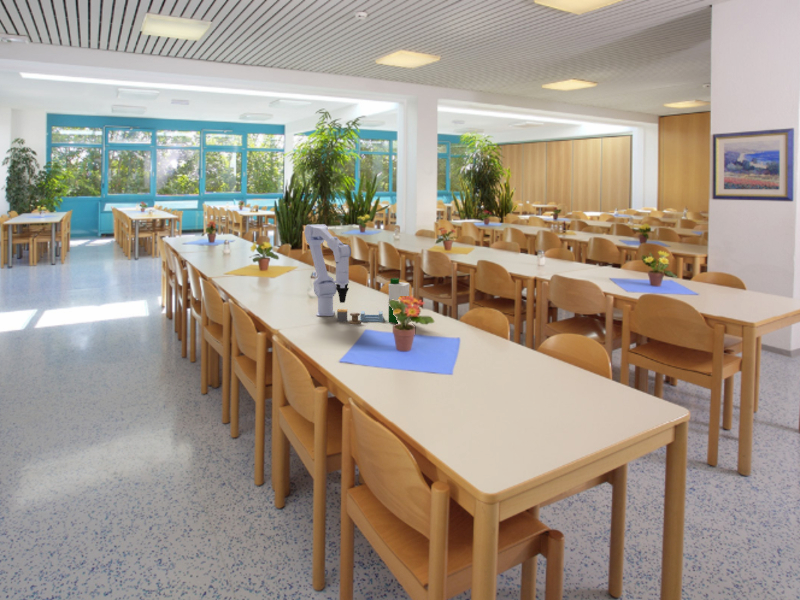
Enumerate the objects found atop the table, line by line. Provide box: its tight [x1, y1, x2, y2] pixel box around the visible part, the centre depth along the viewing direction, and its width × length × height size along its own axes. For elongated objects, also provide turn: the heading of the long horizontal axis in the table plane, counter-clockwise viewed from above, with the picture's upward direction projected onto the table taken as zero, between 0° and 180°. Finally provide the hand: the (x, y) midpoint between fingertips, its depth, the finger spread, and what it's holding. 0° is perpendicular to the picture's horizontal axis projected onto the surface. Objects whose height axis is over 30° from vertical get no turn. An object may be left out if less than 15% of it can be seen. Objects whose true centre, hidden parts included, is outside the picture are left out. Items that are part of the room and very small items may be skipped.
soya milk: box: [387, 277, 410, 324], centre depth 260 cm, size 9×9×20 cm
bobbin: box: [348, 312, 362, 325], centre depth 258 cm, size 5×5×4 cm
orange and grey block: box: [336, 308, 348, 323], centre depth 261 cm, size 3×4×5 cm
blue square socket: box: [359, 310, 384, 323], centre depth 264 cm, size 9×11×3 cm
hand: (342, 300), depth 259 cm, fingers open, 7 cm apart
